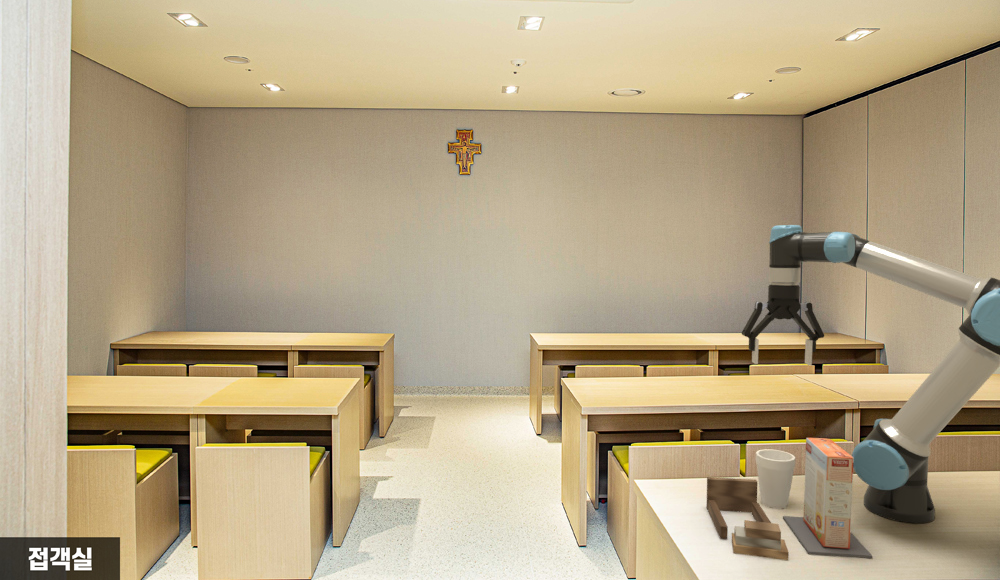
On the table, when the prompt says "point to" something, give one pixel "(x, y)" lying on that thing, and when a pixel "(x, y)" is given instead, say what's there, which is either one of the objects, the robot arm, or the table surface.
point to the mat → (815, 546)
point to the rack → (732, 500)
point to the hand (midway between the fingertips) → (781, 363)
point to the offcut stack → (759, 540)
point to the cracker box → (828, 492)
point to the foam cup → (775, 477)
